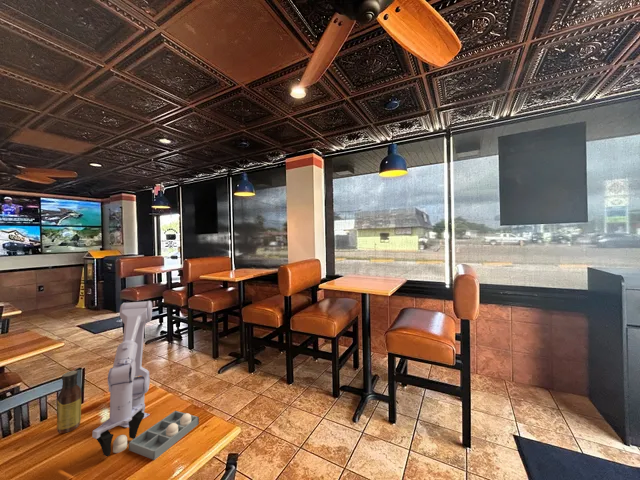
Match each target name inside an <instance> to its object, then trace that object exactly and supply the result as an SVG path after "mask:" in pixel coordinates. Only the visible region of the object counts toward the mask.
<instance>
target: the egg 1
mask: <svg viewBox="0 0 640 480" xmlns="http://www.w3.org/2000/svg"><path fill="white" fill-rule="evenodd" d="M112 442H113V443H112V452H113V453H114V454H119V453H122V452H123V451H125V450H126V449H127V447H128V437H127V435H126V434H120V435H118V436H117V437H116V438H115V439H114V440H113V441H112Z"/></svg>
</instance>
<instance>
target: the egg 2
mask: <svg viewBox="0 0 640 480" xmlns="http://www.w3.org/2000/svg"><path fill="white" fill-rule="evenodd" d="M176 433H178V425H177V424H176V423H172V424H170V425H169V426H168V427H167V429H166V436H168V437H173V436H174V435H175V434H176Z"/></svg>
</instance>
